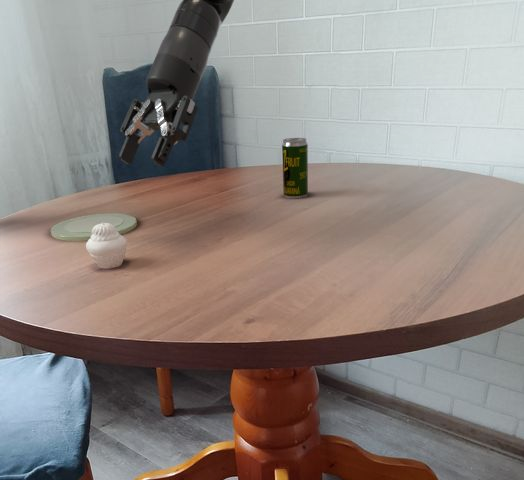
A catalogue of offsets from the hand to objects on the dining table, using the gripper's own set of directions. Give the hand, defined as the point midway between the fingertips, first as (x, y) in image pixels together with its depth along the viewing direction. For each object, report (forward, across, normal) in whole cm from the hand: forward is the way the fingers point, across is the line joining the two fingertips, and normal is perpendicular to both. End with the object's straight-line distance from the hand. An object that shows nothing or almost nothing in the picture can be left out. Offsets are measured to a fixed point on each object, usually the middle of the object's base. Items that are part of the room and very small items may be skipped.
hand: (140, 162), depth 84 cm
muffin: (+17, 0, +2) cm, 17 cm away
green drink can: (-15, -4, +42) cm, 45 cm away
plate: (+9, -21, +10) cm, 25 cm away
